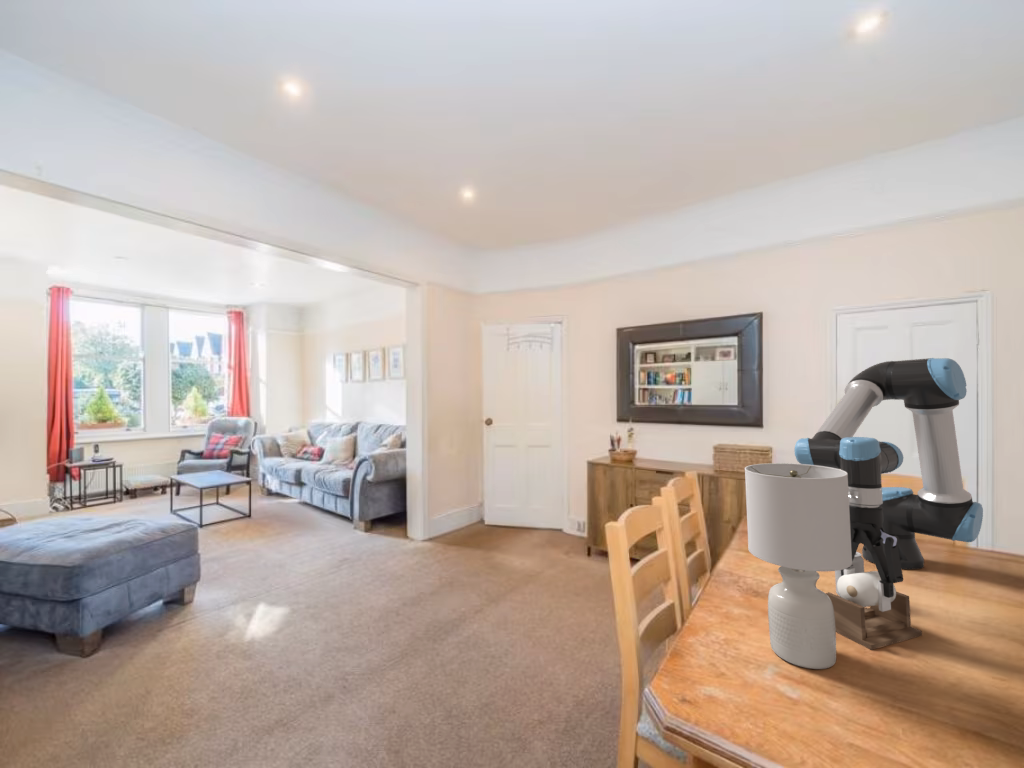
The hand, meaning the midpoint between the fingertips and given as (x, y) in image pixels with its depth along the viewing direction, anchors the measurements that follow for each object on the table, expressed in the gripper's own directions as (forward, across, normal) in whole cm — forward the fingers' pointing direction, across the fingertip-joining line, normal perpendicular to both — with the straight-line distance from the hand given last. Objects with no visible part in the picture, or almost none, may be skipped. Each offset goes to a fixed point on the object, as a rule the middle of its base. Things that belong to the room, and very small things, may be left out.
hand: (867, 602), depth 105 cm
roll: (0, 0, 0) cm, 0 cm away
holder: (+6, 0, 0) cm, 6 cm away
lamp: (+6, +2, -23) cm, 24 cm away
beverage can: (+6, -13, +12) cm, 19 cm away
